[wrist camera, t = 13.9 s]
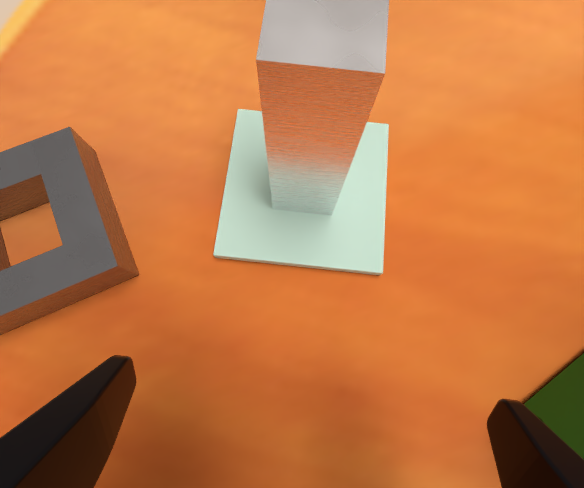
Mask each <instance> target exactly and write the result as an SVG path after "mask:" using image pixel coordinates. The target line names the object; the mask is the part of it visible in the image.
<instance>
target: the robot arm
mask: <svg viewBox="0 0 584 488" xmlns="http://www.w3.org/2000/svg"><path fill="white" fill-rule="evenodd" d="M135 386H136V375H135V370H134V365H133V361H132V359H131V358H130V357H128V356H120V355H114V356H112V357H110V358H109V359H107V360H106V361H105V362H103V363H102V364H101V365H99V366H98V367H96V368H95V369H94V370H92V371H91V372H90V373H88V374H87V375H85V376H84V377H83V378H81V379H80V380H79V381H77V382H76V383H75V384H73V385H72V386H70V387H69V388H68V389H66V390H65V391H64V392H62V393H61V394H60V395H58V396H57V397H55V398H54V399H53V400H51V401H50V402H49V403H47V404H46V405H44V406H43V407H42V408H40V409H39V410H38V411H36V412H35V413H34V414H32V415H31V416H29V417H28V418H27V419H25V420H24V421H23V422H21V423H20V424H19V425H17V426H16V427H14V428H13V429H12V430H10V431H9V432H8V433H6V434H5V435H4V436H2V437H1V438H0V488H94V486H95V484H96V482H97V480H98V478H99V476H100V474H101V472H102V470H103V468H104V466H105V464H106V462H107V459H108V457H109V455H110V453H111V450H112V448H113V445H114V443H115V440H116V438H117V435H118V432H119V430H120V427H121V424H122V422H123V419H124V416H125V413H126V411H127V408H128V405H129V403H130V400H131V397H132V395H133V392H134V389H135ZM487 429H488V433H489V437H490V442H491V446H492V450H493V454H494V458H495V462H496V466H497V470H498V474H499V478H500V482H501V486H502V488H584V459H583V458H582V457H580V456H579V455H578V454H577V453H576V452H575V451H574V450H573V449H572V448H571V447H570V446H568V445H567V444H566V443H565V442H564V441H563V440H562V439H561V438H560V437H559V436H558V435H556V434H555V433H554V432H553V431H552V430H551V429H550V428H549V427H548V426H547V425H546V424H544V423H543V422H542V421H541V420H540V419H539V418H538V417H537V416H536V415H535V414H534V413H532V412H531V411H530V410H529V409H528V408H527V407H526V406H525V405H524V404H522V403H521V402H520V401H517V400H510V399H501V400H499V401H498V402H497V404H496V406H495V407H494V409H493V411H492V412H491V414H490V416H489V417H488V420H487Z"/></svg>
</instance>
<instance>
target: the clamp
mask: <svg viewBox="0 0 584 488" xmlns="http://www.w3.org/2000/svg"><path fill="white" fill-rule="evenodd" d="M524 405H525V406H526V407H527V408H528V409H529V410H530V411H531V412H532V413H534V414H535V415H536V416H537V417H538V418H539V419H540V420H541V421H542V422H543V423H544V424H546V425H547V426H548V427H549V428H550V429H551V430H552V431H553V432H554V433H555V434H556V435H558V436H559V437H560V438H561V439H562V440H563V441H564V442H565V443H566V444H567V445H568V446H570V447H571V448H572V449H573V450H574V451H575V452H576V453H577V454H578V455H579V456H580V457H582V458H583V459H584V353H583V354H582V355H581V356H580V357H579V358H577V359H576V360H575V361H574V362H573V363H571V364H570V365H569V366H568V367H567V368H566V369H564V370H563V371H562V372H561V373H560V374H559V375H557V376H556V377H555V378H554V379H553V380H552V381H550V382H549V383H548V384H547V385H546V386H545V387H543V388H542V389H541V390H540V391H539V392H538V393H536V394H535V395H534V396H533V397H532V398H530V399H529V400H528V401H527V402H526V403H525V404H524Z"/></svg>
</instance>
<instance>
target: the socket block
mask: <svg viewBox="0 0 584 488" xmlns="http://www.w3.org/2000/svg"><path fill="white" fill-rule="evenodd" d="M47 202H50V204H51V208H52V211H53V214H54V217H55V221H56V224H57V227H58V230H59V234H60V237H61V240H62V243H63V246H60V247H58V248H55V249H53V250H50V251H48V252H45V253H43V254H41V255H38V256H36V257H33V258H31V259H28V260H26V261H23V262H21V263H19V264H16V265H14V266H11V267H10V264H9V260H8V256H7V252H6V249H5V245H4V241H3V237H2V234H1V230H0V335H1V334H3V333H6V332H8V331H10V330H13V329H15V328H17V327H20V326H22V325H24V324H27V323H29V322H31V321H33V320H36V319H38V318H40V317H43V316H45V315H47V314H50V313H52V312H54V311H57V310H59V309H61V308H64V307H66V306H68V305H71V304H73V303H75V302H77V301H80V300H82V299H84V298H87V297H89V296H91V295H94V294H96V293H98V292H101V291H103V290H105V289H108V288H110V287H112V286H115V285H117V284H119V283H121V282H124V281H126V280H128V279H131V278H133V277H135V276H138V275H139V273H138V270H137V267H136V264H135V262H134V259H133V256H132V253H131V250H130V248H129V245H128V242H127V239H126V236H125V234H124V231H123V228H122V225H121V222H120V220H119V217H118V214H117V211H116V208H115V206H114V203H113V200H112V197H111V194H110V192H109V189H108V186H107V183H106V180H105V178H104V175H103V172H102V169H101V166H100V164H99V161H98V158H97V155H96V152H95V151H94V150H93V149H92V148H91V147H90V146H89V145H88V144H87V143H86V142H85V141H84V140H83V139H82V138H81V137H80V136H79V135H78V134H77V133H76V132H75V131H74V130H73V129H72V128H71V127H68V128H65V129H62V130H60V131H57V132H54V133H52V134H49V135H46V136H43V137H41V138H38V139H35V140H33V141H30V142H27V143H24V144H22V145H19V146H16V147H14V148H11V149H8V150H5V151H3V152H0V221H1V220H4V219H7V218H9V217H12V216H14V215H17V214H19V213H22V212H24V211H27V210H29V209H32V208H35V207H37V206H40V205H42V204H45V203H47Z"/></svg>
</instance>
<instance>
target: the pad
mask: <svg viewBox="0 0 584 488" xmlns="http://www.w3.org/2000/svg"><path fill="white" fill-rule="evenodd" d="M388 128H389V124H382V123H372V122H367V123H366V126H365V128H364V131H363V134H362V136H361V139H360V142H359V144H358V147H357V150H356V152H355V155H354V158H353V160H352V163H351V166H350V169H349V171H348V174H347V177H346V179H345V182H344V185H343V187H342V190H341V193H340V195H339V198H338V201H337V203H336V206H335V209H334V211H333V214H332V216H330V215H322V214H313V213H304V212H295V211H286V210H277V209H273V207H272V198H271V189H270V180H269V171H268V162H267V153H266V144H265V135H264V126H263V117H262V111H254V110H244V109H238V113H237V119H236V124H235V130H234V136H233V142H232V148H231V154H230V160H229V166H228V172H227V177H226V183H225V189H224V195H223V201H222V207H221V213H220V219H219V225H218V231H217V236H216V242H215V248H214V254H213V255H214V256H215V257H216V258H223V259H232V260H242V261H251V262H260V263H270V264H279V265H288V266H298V267H307V268H316V269H326V270H335V271H344V272H354V273H363V274H372V275H381V274H382V273H383V257H384V232H385V206H386V180H387V154H388Z"/></svg>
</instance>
